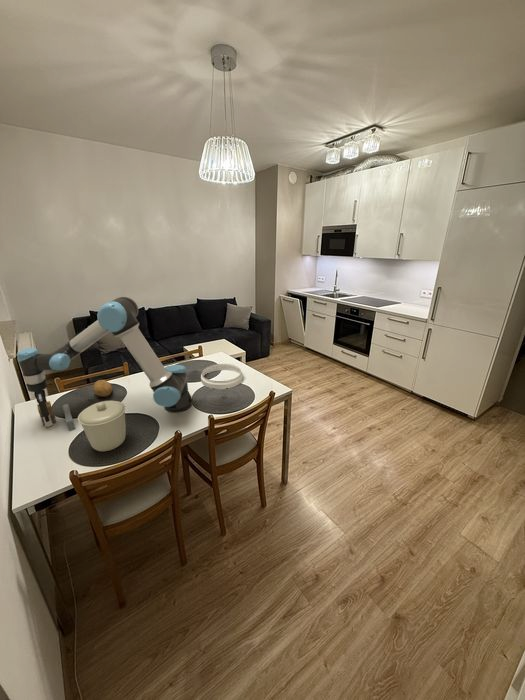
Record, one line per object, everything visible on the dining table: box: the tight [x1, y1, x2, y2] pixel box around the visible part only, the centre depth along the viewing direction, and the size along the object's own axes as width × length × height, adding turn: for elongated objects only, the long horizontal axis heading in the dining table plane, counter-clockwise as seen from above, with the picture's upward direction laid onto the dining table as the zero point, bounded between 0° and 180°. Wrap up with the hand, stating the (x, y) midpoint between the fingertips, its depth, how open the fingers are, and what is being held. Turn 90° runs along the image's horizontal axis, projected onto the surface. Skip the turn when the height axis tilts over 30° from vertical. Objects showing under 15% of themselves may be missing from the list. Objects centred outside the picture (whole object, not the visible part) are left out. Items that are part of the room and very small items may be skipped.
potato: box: [93, 379, 113, 397], centre depth 162 cm, size 10×14×8 cm
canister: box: [77, 400, 127, 452], centre depth 122 cm, size 18×18×21 cm
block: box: [36, 401, 57, 427], centre depth 137 cm, size 5×5×10 cm
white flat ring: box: [200, 363, 243, 390], centre depth 183 cm, size 27×27×6 cm
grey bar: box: [62, 403, 76, 432], centre depth 139 cm, size 18×2×5 cm, turn 39°
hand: (48, 421), depth 139 cm, fingers open, 8 cm apart
